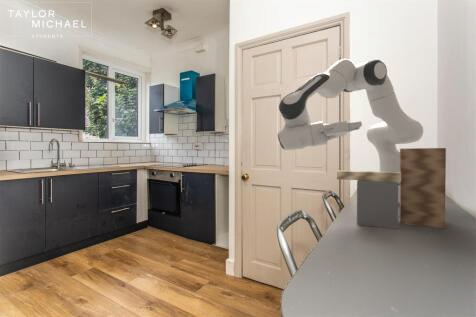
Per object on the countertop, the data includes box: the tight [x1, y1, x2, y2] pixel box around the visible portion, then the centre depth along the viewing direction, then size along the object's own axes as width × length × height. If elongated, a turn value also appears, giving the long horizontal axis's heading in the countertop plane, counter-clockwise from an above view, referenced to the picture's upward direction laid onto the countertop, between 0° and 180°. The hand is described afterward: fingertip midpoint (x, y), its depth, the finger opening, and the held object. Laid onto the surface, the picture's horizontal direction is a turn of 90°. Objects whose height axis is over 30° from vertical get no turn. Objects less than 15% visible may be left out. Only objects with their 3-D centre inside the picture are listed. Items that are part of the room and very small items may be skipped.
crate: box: [356, 180, 399, 230], centre depth 88 cm, size 12×10×15 cm
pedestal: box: [398, 147, 447, 229], centre depth 88 cm, size 12×10×26 cm
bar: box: [336, 170, 401, 182], centre depth 89 cm, size 20×3×3 cm, turn 59°
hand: (360, 125), depth 89 cm, fingers open, 8 cm apart
